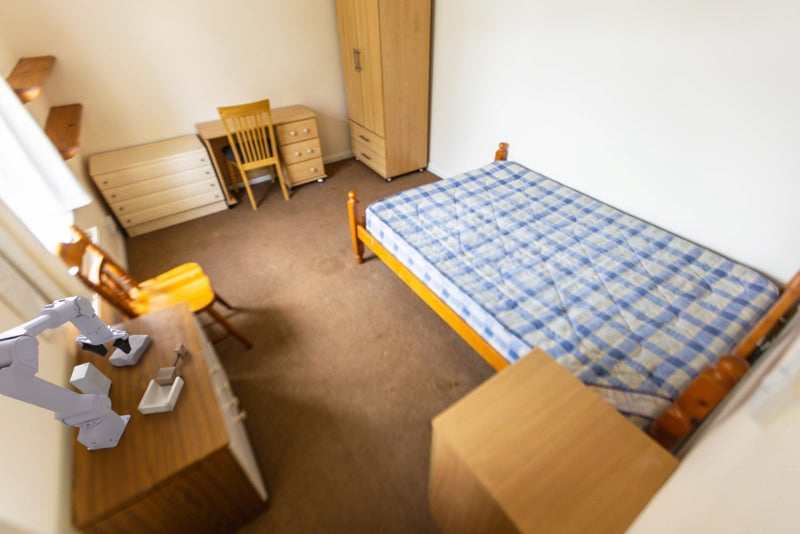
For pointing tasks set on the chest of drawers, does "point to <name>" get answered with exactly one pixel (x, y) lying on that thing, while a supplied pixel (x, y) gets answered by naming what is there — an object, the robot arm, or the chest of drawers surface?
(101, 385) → the skincare box
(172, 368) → the corded block
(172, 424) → the chest of drawers surface
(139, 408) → the tray
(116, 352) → the stone block
